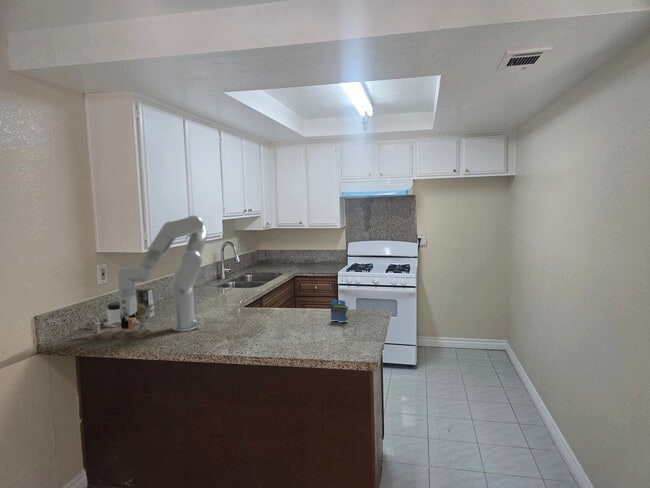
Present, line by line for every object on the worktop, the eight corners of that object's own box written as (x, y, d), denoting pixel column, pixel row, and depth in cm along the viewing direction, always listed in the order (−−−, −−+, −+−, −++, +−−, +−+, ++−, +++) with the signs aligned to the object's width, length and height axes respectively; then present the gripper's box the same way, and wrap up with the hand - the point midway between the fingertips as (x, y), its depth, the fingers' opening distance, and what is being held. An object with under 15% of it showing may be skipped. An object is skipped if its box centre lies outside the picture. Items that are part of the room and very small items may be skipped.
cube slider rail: (149, 331, 217) (148, 315, 216) (142, 337, 207) (141, 321, 206) (94, 333, 215) (93, 317, 215) (84, 340, 205) (83, 323, 205)
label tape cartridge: (348, 321, 229) (348, 299, 228) (345, 323, 226) (345, 300, 225) (333, 320, 233) (333, 298, 232) (330, 321, 229) (330, 299, 228)
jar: (105, 325, 230) (103, 304, 229) (118, 322, 237) (117, 301, 236) (115, 327, 226) (114, 305, 225) (129, 324, 233) (127, 302, 232)
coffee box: (155, 315, 252) (153, 288, 250) (149, 318, 245) (148, 290, 244) (140, 315, 253) (139, 288, 251) (134, 317, 246) (133, 290, 245)
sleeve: (136, 327, 214) (136, 317, 213) (132, 329, 209) (132, 319, 208) (126, 327, 214) (126, 317, 213) (122, 330, 209) (121, 320, 208)
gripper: (128, 295, 201) (129, 330, 203) (141, 288, 218) (142, 321, 220) (111, 295, 201) (113, 330, 202) (126, 289, 218) (128, 321, 219)
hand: (128, 325), depth 211 cm, fingers open, 9 cm apart
